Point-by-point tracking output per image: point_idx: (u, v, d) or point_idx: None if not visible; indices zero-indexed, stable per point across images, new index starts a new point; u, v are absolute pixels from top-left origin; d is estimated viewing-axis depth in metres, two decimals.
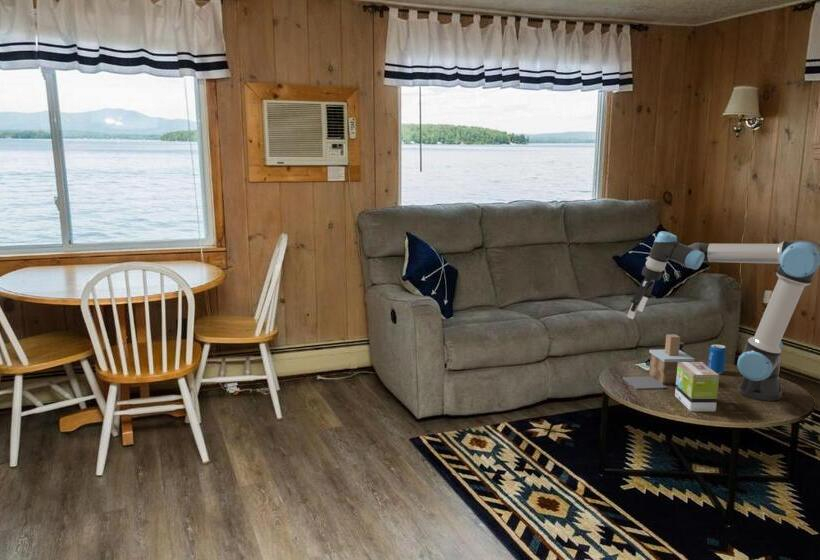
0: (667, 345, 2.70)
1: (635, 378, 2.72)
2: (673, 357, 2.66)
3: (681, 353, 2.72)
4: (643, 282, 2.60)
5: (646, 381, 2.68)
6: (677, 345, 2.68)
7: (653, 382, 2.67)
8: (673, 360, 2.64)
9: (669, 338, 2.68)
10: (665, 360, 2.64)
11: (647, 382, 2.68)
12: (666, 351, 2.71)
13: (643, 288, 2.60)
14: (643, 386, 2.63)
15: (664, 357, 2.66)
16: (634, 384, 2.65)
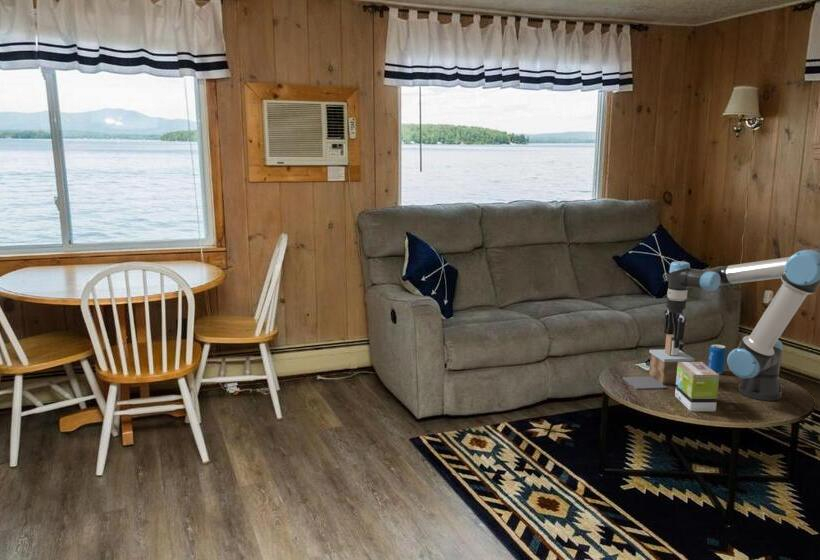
0: (667, 345, 2.70)
1: (635, 378, 2.72)
2: (673, 357, 2.66)
3: (681, 353, 2.72)
4: (682, 319, 2.61)
5: (646, 381, 2.68)
6: None
7: (653, 382, 2.67)
8: (673, 360, 2.64)
9: (669, 338, 2.68)
10: (665, 360, 2.64)
11: (647, 382, 2.68)
12: (666, 351, 2.71)
13: (683, 324, 2.62)
14: (643, 386, 2.63)
15: (664, 357, 2.65)
16: (634, 384, 2.65)
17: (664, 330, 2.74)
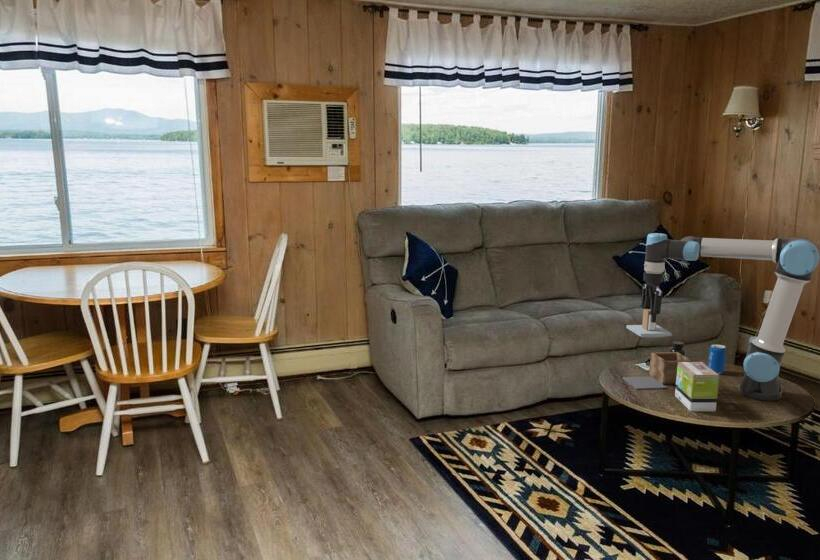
0: (644, 320, 2.62)
1: (635, 378, 2.72)
2: (650, 332, 2.59)
3: (659, 328, 2.64)
4: (659, 292, 2.53)
5: (646, 381, 2.68)
6: None
7: (653, 382, 2.67)
8: (650, 334, 2.57)
9: (646, 312, 2.61)
10: (641, 335, 2.56)
11: (647, 382, 2.68)
12: (643, 326, 2.63)
13: (660, 297, 2.55)
14: (643, 386, 2.63)
15: (641, 332, 2.58)
16: (634, 384, 2.65)
17: (641, 305, 2.66)
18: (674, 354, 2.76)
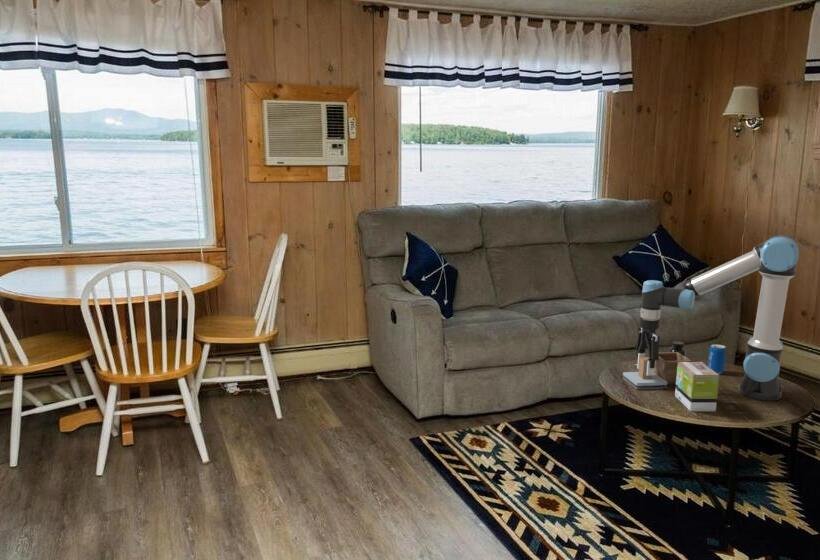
0: (640, 369, 2.66)
1: None
2: (646, 381, 2.63)
3: (655, 376, 2.68)
4: (655, 338, 2.57)
5: None
6: None
7: None
8: (646, 383, 2.61)
9: (642, 361, 2.65)
10: (638, 384, 2.60)
11: None
12: (639, 374, 2.67)
13: (657, 343, 2.58)
14: (643, 386, 2.63)
15: (637, 381, 2.62)
16: (634, 384, 2.65)
17: (636, 347, 2.72)
18: (674, 354, 2.76)
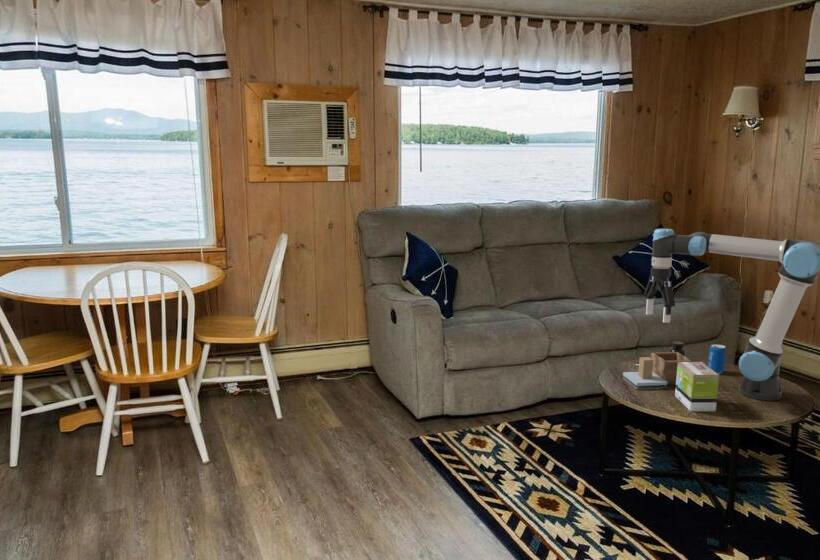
0: (640, 369, 2.66)
1: None
2: (646, 381, 2.63)
3: (655, 376, 2.68)
4: (668, 283, 2.55)
5: None
6: (650, 368, 2.64)
7: None
8: (646, 383, 2.61)
9: (642, 361, 2.65)
10: (638, 384, 2.60)
11: None
12: (639, 374, 2.67)
13: (670, 288, 2.55)
14: (643, 386, 2.63)
15: (637, 381, 2.62)
16: (634, 384, 2.65)
17: (644, 293, 2.72)
18: (674, 354, 2.76)
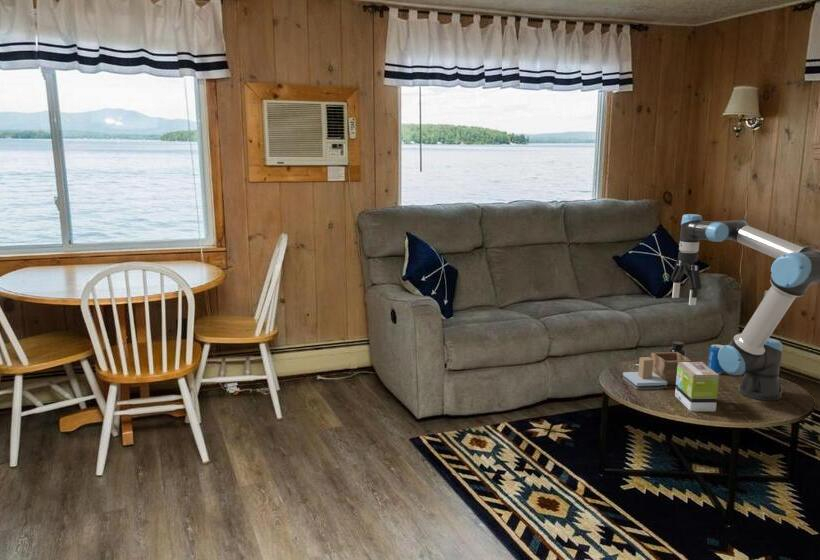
0: (640, 369, 2.66)
1: None
2: (646, 381, 2.63)
3: (655, 376, 2.68)
4: (694, 266, 2.62)
5: None
6: (650, 368, 2.64)
7: None
8: (646, 383, 2.61)
9: (642, 361, 2.65)
10: (638, 384, 2.60)
11: None
12: (639, 374, 2.67)
13: (697, 272, 2.62)
14: (643, 386, 2.63)
15: (637, 381, 2.62)
16: (634, 384, 2.65)
17: (671, 277, 2.80)
18: (674, 354, 2.76)
